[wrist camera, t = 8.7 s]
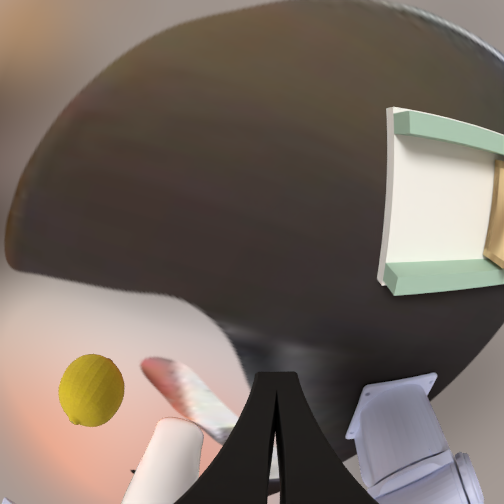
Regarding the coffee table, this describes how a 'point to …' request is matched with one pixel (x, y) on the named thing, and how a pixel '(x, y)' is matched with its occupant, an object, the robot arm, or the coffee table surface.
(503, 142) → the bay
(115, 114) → the coffee table surface
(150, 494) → the drinking glass
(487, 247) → the crate
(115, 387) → the lemon
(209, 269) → the coffee table surface
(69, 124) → the coffee table surface
